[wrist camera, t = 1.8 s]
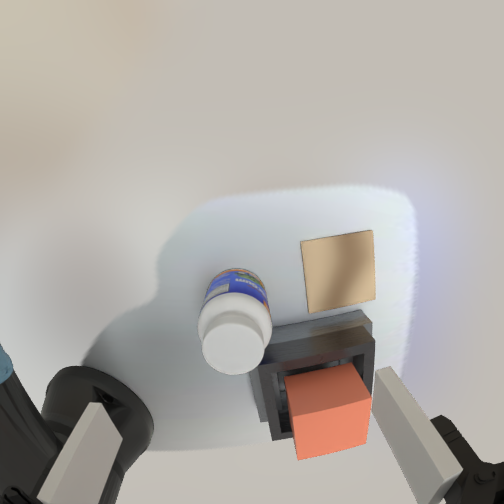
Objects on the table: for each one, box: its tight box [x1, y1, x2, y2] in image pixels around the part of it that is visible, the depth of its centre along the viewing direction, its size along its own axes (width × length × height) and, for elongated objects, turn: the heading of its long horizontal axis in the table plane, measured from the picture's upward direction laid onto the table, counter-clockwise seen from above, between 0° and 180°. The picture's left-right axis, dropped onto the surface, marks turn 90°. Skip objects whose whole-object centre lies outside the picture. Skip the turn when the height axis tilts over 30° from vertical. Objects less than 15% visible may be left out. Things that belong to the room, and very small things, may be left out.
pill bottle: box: [197, 269, 272, 375], centre depth 22 cm, size 5×5×10 cm
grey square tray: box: [249, 310, 375, 441], centre depth 26 cm, size 12×10×6 cm
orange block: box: [284, 362, 372, 460], centre depth 21 cm, size 6×6×5 cm
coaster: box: [301, 230, 375, 314], centre depth 27 cm, size 7×7×1 cm
